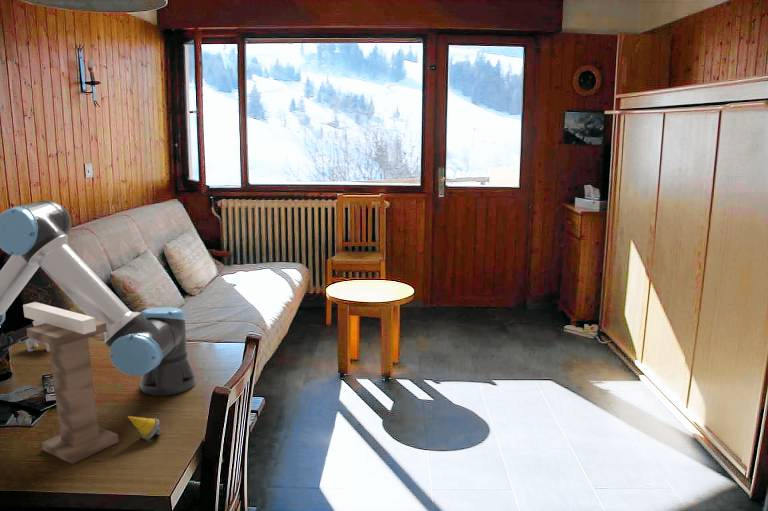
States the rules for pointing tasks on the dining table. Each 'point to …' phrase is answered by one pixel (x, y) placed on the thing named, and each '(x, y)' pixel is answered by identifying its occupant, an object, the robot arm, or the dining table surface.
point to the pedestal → (73, 393)
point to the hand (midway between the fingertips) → (19, 325)
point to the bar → (60, 317)
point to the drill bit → (146, 426)
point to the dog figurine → (35, 344)
